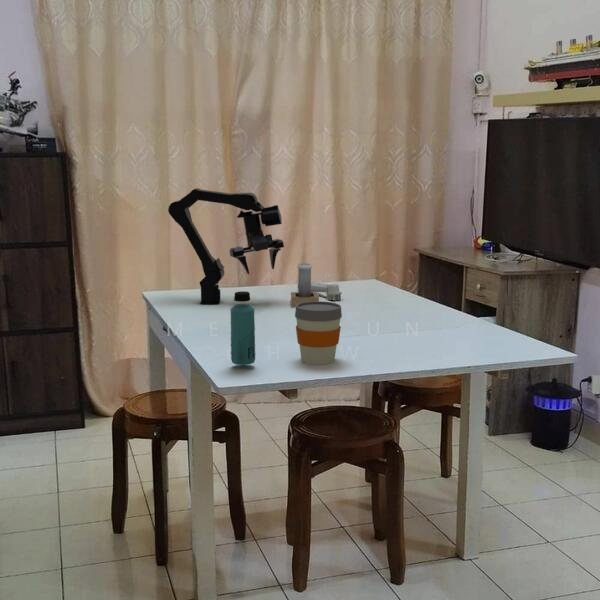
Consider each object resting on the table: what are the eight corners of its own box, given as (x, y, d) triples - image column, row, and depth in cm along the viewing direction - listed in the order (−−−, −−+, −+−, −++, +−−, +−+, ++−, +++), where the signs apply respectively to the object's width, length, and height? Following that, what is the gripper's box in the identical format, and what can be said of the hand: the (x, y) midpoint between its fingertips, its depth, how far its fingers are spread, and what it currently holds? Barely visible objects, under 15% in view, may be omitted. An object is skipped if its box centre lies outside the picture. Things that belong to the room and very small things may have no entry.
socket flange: (291, 307, 281) (291, 297, 280) (290, 301, 291) (290, 292, 290) (319, 307, 281) (319, 297, 280) (317, 301, 291) (317, 292, 290)
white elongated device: (306, 280, 314) (343, 281, 293) (308, 297, 314) (344, 299, 293) (295, 281, 311) (331, 282, 290) (296, 298, 312) (333, 300, 290)
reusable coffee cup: (296, 367, 209) (296, 311, 206) (292, 354, 221) (293, 301, 218) (344, 366, 210) (345, 310, 207) (337, 353, 222) (338, 300, 219)
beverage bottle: (249, 371, 204) (248, 295, 200) (226, 368, 207) (225, 293, 203) (259, 365, 210) (259, 290, 206) (237, 362, 213) (236, 288, 209)
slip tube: (302, 305, 282) (302, 266, 279) (294, 302, 287) (294, 264, 284) (314, 303, 285) (314, 264, 282) (306, 301, 289) (307, 262, 286)
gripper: (233, 234, 271) (241, 279, 274) (284, 224, 277) (292, 268, 279) (225, 233, 282) (233, 276, 285) (275, 223, 287) (283, 265, 290)
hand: (260, 271), depth 284 cm, fingers open, 9 cm apart
